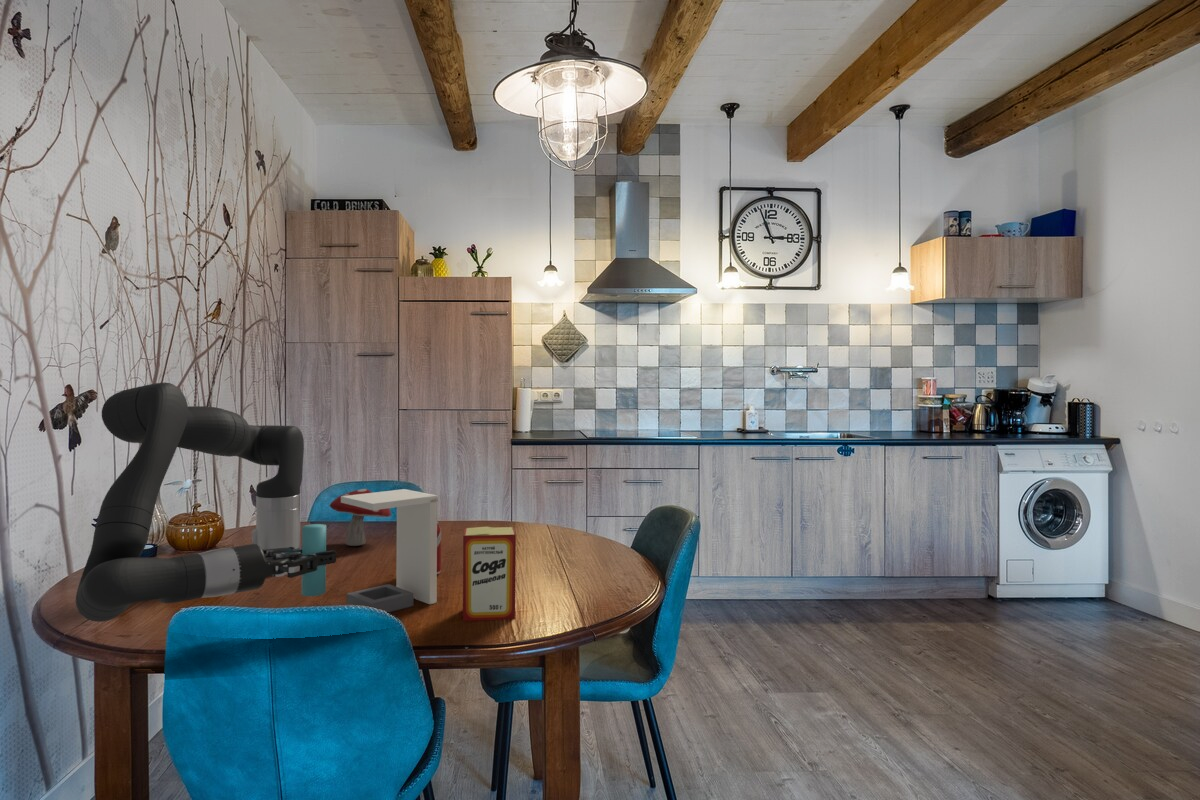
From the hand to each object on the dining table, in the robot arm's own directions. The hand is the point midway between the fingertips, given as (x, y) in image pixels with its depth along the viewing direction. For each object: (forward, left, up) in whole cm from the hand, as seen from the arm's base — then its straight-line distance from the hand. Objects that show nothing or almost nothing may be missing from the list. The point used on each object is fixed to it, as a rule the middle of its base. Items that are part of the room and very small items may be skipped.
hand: (328, 554), depth 126 cm
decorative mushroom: (-20, +57, -12) cm, 62 cm away
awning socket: (+7, +10, -12) cm, 17 cm away
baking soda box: (+28, +6, -12) cm, 31 cm away
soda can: (+7, +31, -12) cm, 34 cm away
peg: (-2, -2, -6) cm, 7 cm away
